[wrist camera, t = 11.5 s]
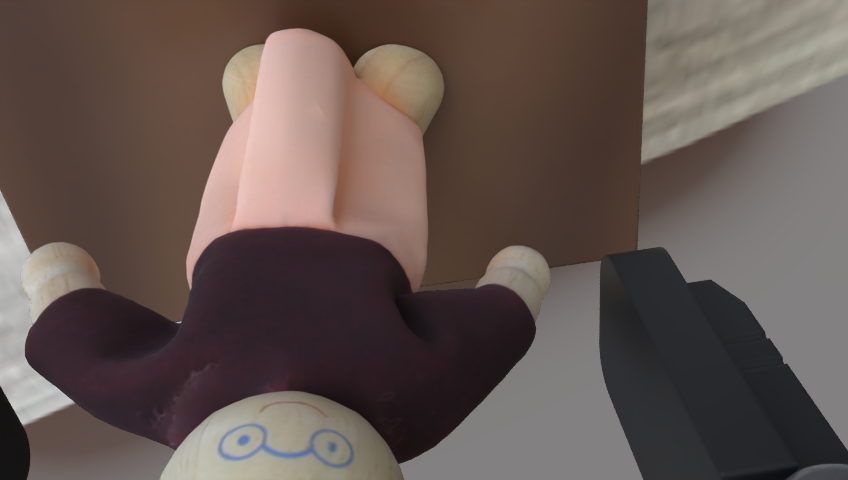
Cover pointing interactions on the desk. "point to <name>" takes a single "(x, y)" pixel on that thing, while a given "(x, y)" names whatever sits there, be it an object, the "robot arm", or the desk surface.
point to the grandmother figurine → (296, 288)
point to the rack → (356, 34)
